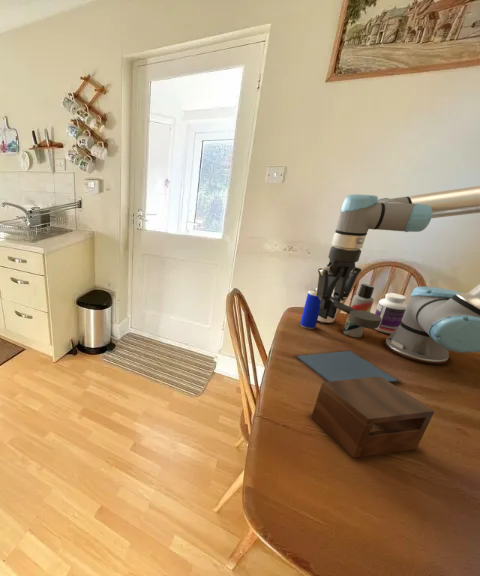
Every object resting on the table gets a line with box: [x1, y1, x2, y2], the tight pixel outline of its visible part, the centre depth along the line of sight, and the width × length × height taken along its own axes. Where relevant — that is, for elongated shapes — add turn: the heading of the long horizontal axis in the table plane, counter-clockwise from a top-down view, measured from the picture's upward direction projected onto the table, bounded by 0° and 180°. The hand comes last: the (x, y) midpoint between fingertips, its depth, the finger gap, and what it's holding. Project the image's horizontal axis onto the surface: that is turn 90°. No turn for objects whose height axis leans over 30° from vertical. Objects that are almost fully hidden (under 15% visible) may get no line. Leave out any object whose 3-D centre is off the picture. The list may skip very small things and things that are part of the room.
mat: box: [296, 350, 399, 384], centre depth 98 cm, size 20×16×1 cm
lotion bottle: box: [342, 283, 375, 338], centre depth 115 cm, size 6×6×20 cm
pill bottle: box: [373, 292, 408, 335], centre depth 119 cm, size 8×8×14 cm
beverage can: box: [299, 288, 321, 330], centre depth 122 cm, size 5×5×15 cm
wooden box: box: [310, 376, 436, 459], centre depth 73 cm, size 16×12×11 cm
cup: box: [314, 287, 343, 324], centre depth 127 cm, size 10×10×13 cm
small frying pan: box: [319, 297, 382, 329], centre depth 96 cm, size 7×20×3 cm, turn 8°
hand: (326, 316), depth 103 cm, fingers closed on small frying pan, 2 cm apart
